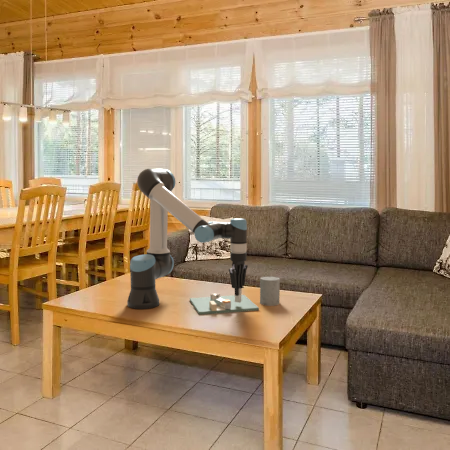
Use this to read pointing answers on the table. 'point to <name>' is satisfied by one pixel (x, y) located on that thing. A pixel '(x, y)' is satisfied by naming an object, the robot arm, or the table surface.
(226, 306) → the bar
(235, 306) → the board
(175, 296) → the table surface
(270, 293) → the speckled grey cylinder
